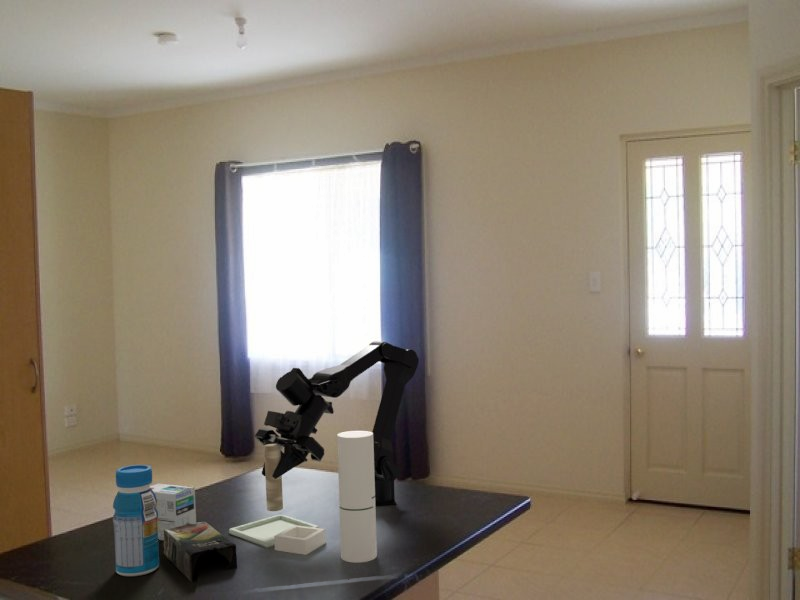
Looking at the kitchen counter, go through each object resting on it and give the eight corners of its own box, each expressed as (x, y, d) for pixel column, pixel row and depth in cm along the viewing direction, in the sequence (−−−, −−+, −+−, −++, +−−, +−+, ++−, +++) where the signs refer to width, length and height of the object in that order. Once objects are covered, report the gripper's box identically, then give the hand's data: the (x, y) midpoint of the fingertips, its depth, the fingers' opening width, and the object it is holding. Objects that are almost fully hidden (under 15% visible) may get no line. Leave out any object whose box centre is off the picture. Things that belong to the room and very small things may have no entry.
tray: (281, 520, 183) (281, 514, 183) (319, 533, 173) (319, 526, 173) (229, 536, 173) (229, 528, 173) (266, 550, 164) (266, 542, 163)
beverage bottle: (116, 580, 149) (112, 475, 148) (113, 566, 157) (109, 466, 156) (162, 573, 152) (158, 470, 152) (157, 559, 160) (153, 461, 160)
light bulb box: (197, 534, 176) (196, 486, 175) (177, 543, 170) (175, 493, 169) (160, 528, 180) (158, 482, 180) (139, 538, 174) (137, 489, 174)
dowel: (284, 506, 174) (282, 443, 174) (280, 511, 171) (277, 447, 170) (269, 506, 175) (266, 443, 174) (264, 511, 171) (262, 447, 171)
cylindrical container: (382, 554, 159) (378, 431, 158) (369, 566, 152) (365, 438, 152) (349, 551, 161) (345, 430, 161) (335, 563, 155) (331, 437, 154)
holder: (295, 541, 169) (294, 525, 169) (325, 545, 165) (325, 528, 165) (274, 552, 162) (274, 535, 162) (306, 557, 158) (305, 540, 158)
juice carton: (159, 553, 164) (159, 524, 164) (205, 544, 169) (205, 516, 169) (189, 585, 147) (188, 552, 147) (239, 573, 152) (238, 542, 152)
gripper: (259, 393, 181) (220, 449, 174) (312, 400, 168) (272, 461, 161) (288, 421, 187) (251, 477, 180) (340, 430, 174) (303, 491, 167)
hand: (268, 476), depth 171 cm, fingers closed on dowel, 3 cm apart
